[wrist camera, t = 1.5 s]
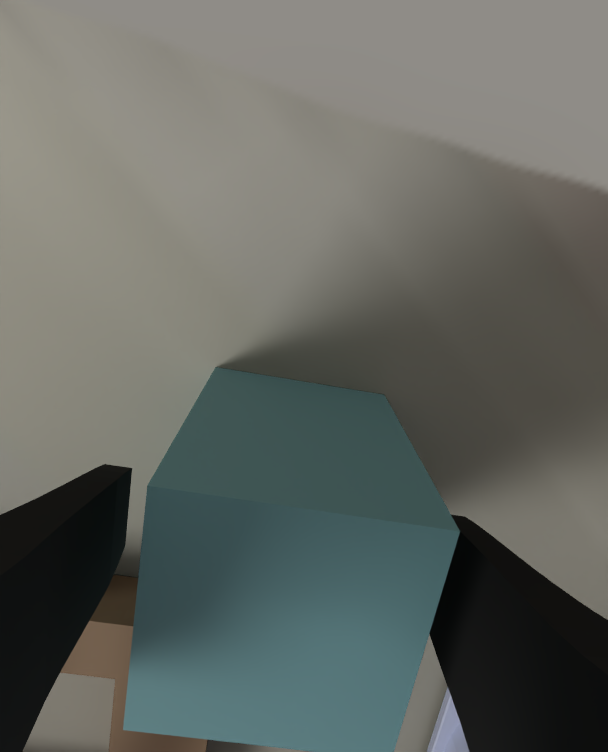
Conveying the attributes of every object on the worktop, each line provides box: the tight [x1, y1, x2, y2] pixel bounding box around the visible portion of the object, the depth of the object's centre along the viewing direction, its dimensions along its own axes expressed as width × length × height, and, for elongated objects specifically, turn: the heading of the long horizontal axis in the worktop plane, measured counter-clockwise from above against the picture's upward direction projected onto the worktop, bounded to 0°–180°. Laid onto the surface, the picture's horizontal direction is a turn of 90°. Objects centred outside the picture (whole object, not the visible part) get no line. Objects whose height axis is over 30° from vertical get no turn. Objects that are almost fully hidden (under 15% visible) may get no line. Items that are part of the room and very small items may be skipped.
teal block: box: [123, 367, 460, 752], centre depth 12 cm, size 5×5×7 cm
